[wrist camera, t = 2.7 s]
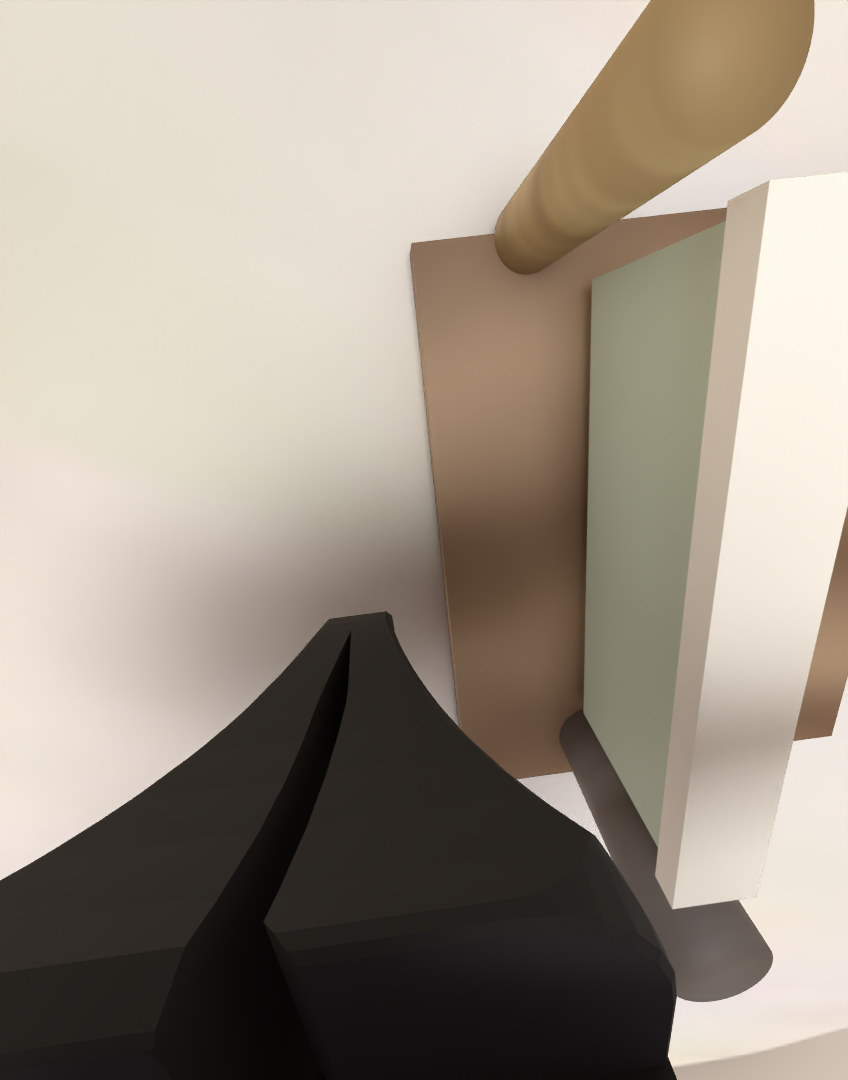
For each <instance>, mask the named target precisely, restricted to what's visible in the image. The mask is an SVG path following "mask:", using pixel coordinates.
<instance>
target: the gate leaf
mask: <svg viewBox="0 0 848 1080" xmlns="http://www.w3.org/2000/svg"><path fill="white" fill-rule="evenodd" d="M847 507H848V172H842V173H833V174H824V175H814V176H805V177H796V178H787V179H778V180H770V181H768V182H766V183H764V184H762V185H760V186H758V187H756V188H754V189H752V190H750V191H748V192H746V193H743V194H741V195H739V196H737V197H735V198H733V199H731V200H729V201H728V206H727V215H726V221H725V222H722V223H720V224H718V225H715V226H713V227H711V228H709V229H706V230H704V231H702V232H699V233H697V234H695V235H693V236H690V237H688V238H686V239H684V240H681V241H679V242H677V243H674V244H672V245H670V246H668V247H665V248H663V249H661V250H658V251H656V252H654V253H652V254H649V255H647V256H645V257H642V258H640V259H638V260H636V261H633V262H631V263H629V264H627V265H624V266H622V267H620V268H617V269H615V270H613V271H611V272H608V273H606V274H604V275H601V276H599V277H597V278H595V279H592V306H591V357H590V407H589V457H588V508H587V558H586V608H585V659H584V709H583V713H584V715H585V717H586V718H587V720H588V722H589V724H590V726H591V728H592V729H593V731H594V733H595V735H596V737H597V738H598V740H599V742H600V744H601V746H602V747H603V749H604V751H605V753H606V755H607V757H608V758H609V760H610V762H611V764H612V766H613V767H614V769H615V771H616V773H617V775H618V776H619V778H620V780H621V782H622V784H623V785H624V787H625V789H626V791H627V793H628V795H629V796H630V798H631V800H632V802H633V804H634V805H635V807H636V809H637V811H638V813H639V814H640V816H641V818H642V820H643V822H644V823H645V825H646V827H647V829H648V831H649V833H650V834H651V836H652V838H653V840H654V842H655V843H656V845H657V847H658V853H657V863H656V872H655V877H656V879H657V880H658V882H659V884H660V886H661V888H662V890H663V892H664V894H665V896H666V898H667V900H668V902H669V904H670V906H671V908H672V909H678V908H685V907H692V906H699V905H706V904H712V903H719V902H726V901H733V900H740V899H747V898H754V897H757V893H758V889H759V884H760V880H761V876H762V871H763V867H764V863H765V859H766V854H767V850H768V846H769V841H770V837H771V833H772V829H773V824H774V820H775V816H776V811H777V807H778V803H779V799H780V794H781V790H782V786H783V781H784V777H785V773H786V769H787V764H788V760H789V756H790V751H791V747H792V743H793V739H794V734H795V730H796V726H797V721H798V717H799V713H800V709H801V704H802V700H803V696H804V691H805V687H806V683H807V679H808V674H809V670H810V666H811V661H812V657H813V653H814V649H815V644H816V640H817V636H818V631H819V627H820V623H821V619H822V614H823V610H824V606H825V602H826V597H827V593H828V589H829V584H830V580H831V576H832V572H833V567H834V563H835V559H836V554H837V550H838V546H839V542H840V537H841V533H842V529H843V524H844V520H845V516H846V512H847Z"/></svg>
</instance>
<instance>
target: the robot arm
mask: <svg viewBox="0 0 848 1080" xmlns="http://www.w3.org/2000/svg"><path fill="white" fill-rule="evenodd" d="M676 998H677V990H676V977H675V971H674V969H673V967H672V965H671V963H670V961H669V959H668V956H667V954H666V951H665V949H664V947H663V945H662V943H661V941H660V939H659V937H658V935H657V933H656V931H655V929H654V927H653V925H652V924H651V922H650V920H649V918H648V917H647V915H646V913H645V912H644V910H643V908H642V906H641V905H640V903H639V901H638V900H637V898H636V896H635V895H634V893H633V891H632V890H631V888H630V887H629V885H628V883H627V882H626V880H625V879H624V877H623V875H622V874H621V872H620V871H619V869H618V868H617V866H616V865H615V863H614V862H613V861H612V859H611V858H610V856H609V855H608V853H607V852H606V850H605V849H604V847H603V846H602V845H601V843H600V842H599V840H598V839H597V838H596V836H595V835H593V834H592V833H590V832H589V831H587V830H586V829H584V828H583V827H581V826H580V825H578V824H577V823H575V822H574V821H572V820H571V819H569V818H568V817H566V816H565V815H563V814H562V813H560V812H559V811H557V810H556V809H555V808H553V807H552V806H550V805H549V804H548V803H546V802H545V801H544V800H542V799H541V798H539V797H538V796H537V795H535V794H534V793H533V792H531V791H530V790H529V789H528V788H526V787H525V786H524V785H523V784H521V783H520V782H519V781H518V780H516V779H515V778H514V777H512V776H511V775H510V774H509V773H507V772H506V771H505V770H504V769H503V768H502V767H501V766H499V765H498V764H497V763H496V762H495V761H494V760H493V759H492V758H491V757H490V756H488V755H487V754H486V753H485V752H484V751H483V750H482V749H481V748H480V747H479V746H477V745H476V744H475V743H474V742H473V741H472V740H471V739H470V738H469V737H468V736H467V735H466V734H465V733H464V732H463V731H462V730H461V729H460V728H459V727H458V726H457V725H456V724H455V723H454V721H453V720H452V719H451V718H450V717H449V716H448V715H447V714H446V712H445V711H444V710H443V709H442V708H441V707H440V705H439V704H438V703H437V702H436V700H435V699H434V698H433V697H432V695H431V694H430V693H429V691H428V690H427V688H426V687H425V686H424V684H423V683H422V681H421V680H420V678H419V677H418V675H417V674H416V672H415V671H414V669H413V668H412V666H411V664H410V662H409V661H408V659H407V657H406V655H405V653H404V652H403V650H402V648H401V646H400V644H399V642H398V639H397V637H396V634H395V632H394V625H393V619H392V615H390V614H389V613H387V612H379V613H371V614H364V615H356V616H348V617H341V618H333V619H329V620H328V621H327V622H326V623H325V624H324V625H323V627H322V628H321V629H320V630H319V631H318V632H317V634H316V635H315V636H314V637H313V638H312V640H311V641H310V642H309V643H308V644H307V645H306V647H305V648H304V649H303V650H302V651H301V652H300V653H299V655H298V656H297V657H296V658H295V659H294V660H293V661H292V662H291V664H290V665H289V666H288V667H287V668H286V669H285V670H284V671H283V672H282V674H281V675H280V676H279V677H278V678H277V679H276V680H275V681H274V682H273V683H272V684H271V685H270V686H269V687H268V688H267V689H266V690H265V691H264V692H263V693H262V694H261V695H260V696H259V697H258V698H257V699H256V700H255V701H254V702H253V703H252V704H251V705H250V706H249V707H248V708H247V709H246V710H245V711H244V712H242V713H241V714H240V715H239V716H238V717H237V718H236V719H235V720H234V721H233V722H231V723H230V724H229V725H228V726H227V727H226V728H225V729H223V730H222V731H221V732H220V733H219V734H217V735H216V736H215V737H214V738H213V739H211V740H210V741H209V742H208V743H207V744H206V745H204V746H203V747H202V748H201V749H199V750H198V751H197V752H196V753H194V754H193V755H192V756H190V757H189V758H188V759H186V760H185V761H184V762H182V763H181V764H180V765H178V766H177V767H176V768H174V769H173V770H171V771H170V772H169V773H167V774H166V775H165V776H163V777H162V778H161V779H159V780H158V781H157V782H155V783H154V784H152V785H151V786H150V787H148V788H147V789H146V790H144V791H143V792H142V793H140V794H139V795H137V796H136V797H134V798H133V799H132V800H130V801H129V802H127V803H126V804H124V805H123V806H121V807H120V808H118V809H117V810H115V811H114V812H112V813H111V814H109V815H108V816H106V817H105V818H103V819H102V820H100V821H99V822H97V823H95V824H94V825H92V826H91V827H89V828H87V829H86V830H84V831H83V832H81V833H79V834H78V835H76V836H75V837H73V838H71V839H70V840H68V841H67V842H65V843H64V844H62V845H60V846H59V847H57V848H55V849H54V850H52V851H50V852H49V853H47V854H45V855H44V856H42V857H40V858H39V859H37V860H35V861H34V862H32V863H30V864H29V865H27V866H25V867H23V868H22V869H20V870H18V871H16V872H15V873H13V874H11V875H9V876H8V877H6V878H4V879H2V880H0V1080H677V1079H676V1076H675V1074H674V1071H673V1068H672V1066H671V1063H670V1061H669V1058H668V1051H669V1044H670V1038H671V1031H672V1024H673V1018H674V1011H675V1005H676Z"/></svg>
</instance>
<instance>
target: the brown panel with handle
mask: <svg viewBox="0 0 848 1080" xmlns="http://www.w3.org/2000/svg"><path fill="white" fill-rule="evenodd" d="M813 26H814V0H651V1H650V2H649V4H648V5H647V7H646V8H645V9H644V11H643V12H642V14H641V15H640V17H639V18H638V19H637V21H636V22H635V24H634V25H633V27H632V28H631V29H630V31H629V32H628V34H627V35H626V36H625V38H624V39H623V41H622V42H621V44H620V45H619V46H618V48H617V49H616V51H615V52H614V53H613V55H612V56H611V58H610V59H609V61H608V62H607V63H606V65H605V66H604V68H603V69H602V71H601V72H600V73H599V75H598V76H597V78H596V79H595V80H594V82H593V83H592V85H591V86H590V88H589V89H588V90H587V92H586V93H585V95H584V96H583V97H582V99H581V100H580V102H579V103H578V105H577V106H576V107H575V109H574V110H573V112H572V113H571V114H570V116H569V117H568V119H567V120H566V122H565V123H564V124H563V126H562V127H561V129H560V130H559V132H558V133H557V134H556V136H555V137H554V139H553V140H552V141H551V143H550V144H549V146H548V147H547V149H546V150H545V151H544V153H543V154H542V156H541V157H540V158H539V160H538V161H537V163H536V164H535V166H534V167H533V168H532V170H531V171H530V173H529V174H528V176H527V177H526V178H525V180H524V181H523V183H522V184H521V185H520V187H519V188H518V190H517V191H516V193H515V194H514V195H513V197H512V198H511V200H510V201H509V202H508V204H507V205H506V207H505V208H504V210H503V211H502V213H501V214H500V216H499V218H498V221H497V224H496V228H495V234H488V235H479V236H470V237H461V238H452V239H443V240H435V241H426V242H417V243H412V244H411V250H410V261H411V270H412V280H413V290H414V299H415V309H416V318H417V328H418V337H419V347H420V357H421V366H422V376H423V385H424V395H425V404H426V414H427V424H428V433H429V443H430V452H431V462H432V471H433V481H434V491H435V500H436V510H437V519H438V529H439V539H440V548H441V558H442V567H443V577H444V586H445V596H446V606H447V615H448V625H449V634H450V644H451V653H452V663H453V673H454V682H455V692H456V701H457V711H458V721H459V728H460V729H461V730H462V731H463V732H464V733H465V734H466V735H467V736H468V737H469V738H470V739H471V740H472V741H473V742H474V743H475V744H476V745H477V746H479V747H480V748H481V749H482V750H483V751H484V752H485V753H486V754H487V755H488V756H490V757H491V758H492V759H493V760H494V761H495V762H496V763H497V764H498V765H499V766H501V767H502V768H503V769H504V770H505V771H506V772H507V773H509V774H510V775H511V776H512V777H514V778H515V779H521V778H528V777H535V776H543V775H550V774H557V773H564V772H572V771H573V773H574V775H575V777H576V779H577V782H578V784H579V786H580V788H581V791H582V793H583V795H584V797H585V800H586V802H587V804H588V806H589V809H590V811H591V813H592V815H593V818H594V820H595V822H596V824H597V827H598V829H599V831H600V833H601V835H602V838H603V840H604V842H605V844H606V847H607V849H608V851H609V853H610V856H611V858H612V860H613V862H614V863H615V865H616V866H617V868H618V869H619V871H620V872H621V874H622V875H623V877H624V879H625V880H626V882H627V883H628V885H629V887H630V888H631V890H632V891H633V893H634V895H635V896H636V898H637V900H638V901H639V903H640V905H641V906H642V908H643V910H644V912H645V913H646V915H647V917H648V918H649V920H650V922H651V924H652V925H653V927H654V929H655V931H656V933H657V935H658V937H659V939H660V941H661V943H662V945H663V947H664V949H665V951H666V954H667V956H668V959H669V961H670V963H671V965H672V967H673V969H674V971H675V977H676V990H677V996H678V997H680V998H682V999H684V1000H688V1001H694V1002H710V1001H717V1000H722V999H726V998H729V997H732V996H735V995H737V994H740V993H742V992H744V991H746V990H747V989H749V988H751V987H752V986H754V985H755V984H757V983H758V982H759V981H760V980H761V979H762V978H763V977H764V976H765V975H766V974H767V973H768V971H769V969H770V968H771V965H772V961H773V955H772V951H771V950H770V948H769V947H768V945H767V943H766V942H765V940H764V939H763V937H762V936H761V934H760V933H759V931H758V930H757V928H756V926H755V925H754V923H753V922H752V920H751V919H750V917H749V916H748V914H747V913H746V911H745V910H744V908H743V906H742V905H741V903H740V902H739V900H733V901H726V902H719V903H712V904H706V905H699V906H692V907H685V908H678V909H672V908H671V906H670V904H669V902H668V900H667V898H666V896H665V894H664V892H663V890H662V888H661V886H660V884H659V882H658V880H657V879H656V877H655V872H656V863H657V853H658V847H657V845H656V843H655V842H654V840H653V838H652V836H651V834H650V833H649V831H648V829H647V827H646V825H645V823H644V822H643V820H642V818H641V816H640V814H639V813H638V811H637V809H636V807H635V805H634V804H633V802H632V800H631V798H630V796H629V795H628V793H627V791H626V789H625V787H624V785H623V784H622V782H621V780H620V778H619V776H618V775H617V773H616V771H615V769H614V767H613V766H612V764H611V762H610V760H609V758H608V757H607V755H606V753H605V751H604V749H603V747H602V746H601V744H600V742H599V740H598V738H597V737H596V735H595V733H594V731H593V729H592V728H591V726H590V724H589V722H588V720H587V718H586V717H585V715H584V713H583V709H584V659H585V608H586V558H587V508H588V457H589V407H590V357H591V306H592V279H595V278H597V277H599V276H601V275H604V274H606V273H608V272H611V271H613V270H615V269H617V268H620V267H622V266H624V265H627V264H629V263H631V262H633V261H636V260H638V259H640V258H642V257H645V256H647V255H649V254H652V253H654V252H656V251H658V250H661V249H663V248H665V247H668V246H670V245H672V244H674V243H677V242H679V241H681V240H684V239H686V238H688V237H690V236H693V235H695V234H697V233H699V232H702V231H704V230H706V229H709V228H711V227H713V226H715V225H718V224H720V223H722V222H725V221H726V215H727V208H721V209H712V210H703V211H694V212H685V213H676V214H667V215H658V216H649V217H640V218H631V219H622V220H620V219H621V218H623V217H624V216H626V215H628V214H629V213H631V212H632V211H634V210H635V209H637V208H638V207H640V206H641V205H643V204H645V203H646V202H648V201H649V200H651V199H652V198H654V197H655V196H657V195H658V194H660V193H661V192H663V191H665V190H666V189H668V188H669V187H671V186H672V185H674V184H675V183H677V182H678V181H680V180H681V179H683V178H685V177H686V176H688V175H689V174H691V173H692V172H694V171H695V170H697V169H698V168H700V167H701V166H703V165H705V164H706V163H708V162H709V161H711V160H712V159H714V158H715V157H717V156H718V155H720V154H722V153H723V152H725V151H726V150H728V149H729V148H731V147H732V146H734V145H735V144H737V143H738V142H740V141H742V140H743V139H745V138H746V137H748V136H749V135H751V134H752V133H754V132H755V131H757V130H758V129H760V128H761V127H762V126H763V125H764V124H765V123H767V122H768V121H769V120H770V119H771V118H772V117H773V116H774V115H775V114H776V112H777V111H778V110H779V109H780V108H781V106H782V105H783V104H784V102H785V101H786V100H787V98H788V97H789V95H790V93H791V92H792V90H793V88H794V87H795V85H796V83H797V81H798V79H799V77H800V75H801V72H802V70H803V67H804V64H805V62H806V59H807V55H808V52H809V48H810V44H811V39H812V34H813ZM847 677H848V507H847V512H846V516H845V520H844V524H843V529H842V533H841V537H840V542H839V546H838V550H837V554H836V559H835V563H834V567H833V572H832V576H831V580H830V584H829V589H828V593H827V597H826V602H825V606H824V610H823V614H822V619H821V623H820V627H819V631H818V636H817V640H816V644H815V649H814V653H813V657H812V661H811V666H810V670H809V674H808V679H807V683H806V687H805V691H804V696H803V700H802V704H801V709H800V713H799V717H798V721H797V726H796V730H795V734H794V739H793V741H797V740H804V739H811V738H819V737H826V736H832V732H833V728H834V725H835V721H836V717H837V714H838V710H839V706H840V703H841V699H842V695H843V691H844V688H845V684H846V680H847Z"/></svg>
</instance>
